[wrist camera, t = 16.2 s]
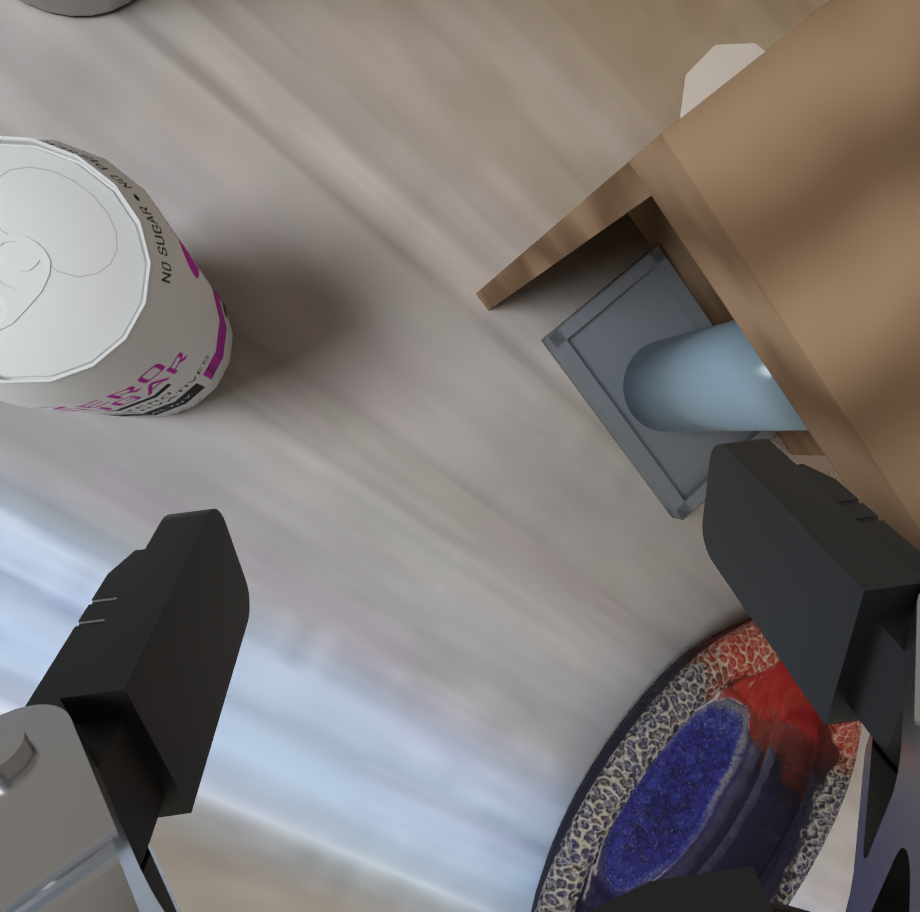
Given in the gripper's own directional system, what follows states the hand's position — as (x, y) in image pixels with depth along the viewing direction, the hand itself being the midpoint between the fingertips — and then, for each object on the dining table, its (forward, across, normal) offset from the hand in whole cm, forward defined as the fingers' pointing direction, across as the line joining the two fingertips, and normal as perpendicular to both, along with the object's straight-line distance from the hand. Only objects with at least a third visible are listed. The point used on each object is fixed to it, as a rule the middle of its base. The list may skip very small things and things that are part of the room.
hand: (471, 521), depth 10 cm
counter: (+27, -13, +10) cm, 32 cm away
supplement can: (+24, +15, +3) cm, 28 cm away
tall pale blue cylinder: (+26, -14, +10) cm, 31 cm away
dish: (+15, -12, +34) cm, 39 cm away
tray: (+27, -14, +11) cm, 32 cm away
